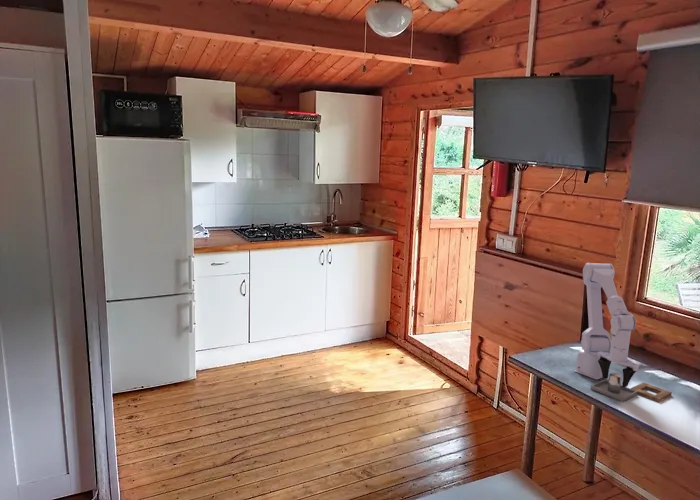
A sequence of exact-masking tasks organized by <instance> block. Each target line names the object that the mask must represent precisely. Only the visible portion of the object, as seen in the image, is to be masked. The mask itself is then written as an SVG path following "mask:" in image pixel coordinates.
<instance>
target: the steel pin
mask: <svg viewBox="0 0 700 500" xmlns="http://www.w3.org/2000/svg"><path fill="white" fill-rule="evenodd" d="M608 377H609V378H608V381H609V384H608V391H610V392H612V393H620V388H621V385H622V382H623V375H621V374H619V373H616V372H610V373H609V376H608Z"/></svg>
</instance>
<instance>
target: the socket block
mask: <svg viewBox="0 0 700 500" xmlns="http://www.w3.org/2000/svg"><path fill="white" fill-rule="evenodd" d="M630 389H632V390H635V391H637V396H640V397H644V398H647V399H649V400H651V401H654V402H657V403H660V402H662V401H664V400H665V399H667V398H669V397H671V396H672V393H673V392H671V391H670V390H666V389H664V388H660V387H658V386H654V385H652V384H650V383H646V382H644V381H643V382H641V383H638V384H637V385H635V386H632V387H630ZM645 390H648V391H651V392H654V393H656V394H654V393H651V392H648V391H645Z"/></svg>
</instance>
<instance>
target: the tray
mask: <svg viewBox="0 0 700 500" xmlns="http://www.w3.org/2000/svg"><path fill="white" fill-rule="evenodd" d="M608 384H609V379H603V380H601V381H597V382H595V383H593V384H591V385H590V390H591V389H592V390H591V391H594V390H595V391H594V392H596V391H597V393H599V392H600V393H599V394H601V393H602V394H601V395H604V394H605V395H604V396H606V395H607V397H609V396H610V397H609V398H611V397H612V399H614V398H615V399H614V400H617V399H618V400H617V401H619V400H620V402H621V403H624V402H627V401H628V400H630V399H633V398H634V397H637V396H638V394H637V391H635V390H632V389H630V388H631V387H630V388H629V387H628V386H627V387H622V384H621V388H620V393H612V392H610V391H608Z"/></svg>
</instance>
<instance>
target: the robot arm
mask: <svg viewBox="0 0 700 500" xmlns="http://www.w3.org/2000/svg"><path fill="white" fill-rule="evenodd" d="M615 273H616V271H615V267H614V266H613V264H612V263H611V262H610V263H597V262H596V263H595V262H586V263H585V264H584V266H583V269H582V280H583V284H584V285H585V286H586V299H587V301H586V302H587V316H588V318H587V319H588V328H586V329H585V330H584V331H583V332H582V333H581V341H580V347H581V349H580V350H579V351H578V353H577V357H576V365H575V369H574V373H575V372H576V373H577V374H580V375H584V376H586V377H589V378H591V379H594V380H599V379H603V380H607V379H609V378H608V377H609V374H610V373H609V371H610V368H611V363H615V364H617V365H621V366H622V367H625V368H622V382H621V385H622V387H627V388H628V385H629V383H630V381H631V380H632V377H633V376H634V375H635V374H636V372H638V371H639V370H640V369H639V368H640V365H639V364H638V363H635V362H634V361H632V360H630V359H629V358H628V355H629V349H630V348H629V347H630V342H631V341H630V340H631V335H632V331H634V330H635V329H636V326H637V321H636V317H635V315H634V314H632V313H631V311H628V309H627V306H626V304H625V302H624V298H623V297H622V296H619V294H618V291H617V287H616V284H615V281H614V278H615ZM601 290H603V292H604V294H605V295H606V297H607V300H606V301H605V304H606V306H607V308H608V312H609V314H610V317H611V319H610V326H611V327H610V329H611V333H612V341H611V339H610V332H609V331H607V330H606V329H605V328H604V319H603V305H602V291H601ZM609 352H610V354H609Z"/></svg>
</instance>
